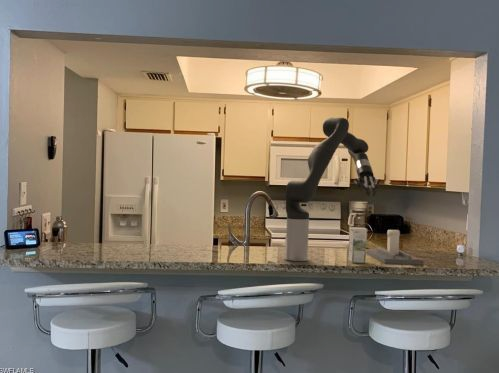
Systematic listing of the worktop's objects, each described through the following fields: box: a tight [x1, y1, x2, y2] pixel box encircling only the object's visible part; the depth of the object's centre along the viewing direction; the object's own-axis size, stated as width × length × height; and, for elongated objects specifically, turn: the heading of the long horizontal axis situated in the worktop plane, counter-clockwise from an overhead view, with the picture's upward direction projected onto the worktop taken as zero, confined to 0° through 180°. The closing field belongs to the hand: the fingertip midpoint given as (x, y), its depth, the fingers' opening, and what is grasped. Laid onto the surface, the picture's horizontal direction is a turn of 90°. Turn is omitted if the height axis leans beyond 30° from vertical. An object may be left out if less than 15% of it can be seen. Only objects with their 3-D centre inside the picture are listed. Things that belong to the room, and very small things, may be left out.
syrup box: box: [347, 226, 368, 264], centre depth 170 cm, size 6×6×14 cm
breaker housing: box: [366, 246, 424, 266], centre depth 180 cm, size 16×24×4 cm, turn 2°
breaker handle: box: [386, 229, 401, 255], centre depth 180 cm, size 4×3×11 cm
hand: (371, 194), depth 194 cm, fingers closed
